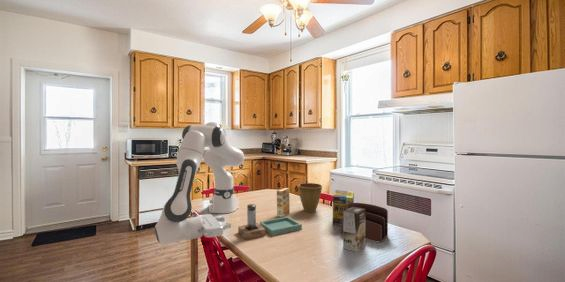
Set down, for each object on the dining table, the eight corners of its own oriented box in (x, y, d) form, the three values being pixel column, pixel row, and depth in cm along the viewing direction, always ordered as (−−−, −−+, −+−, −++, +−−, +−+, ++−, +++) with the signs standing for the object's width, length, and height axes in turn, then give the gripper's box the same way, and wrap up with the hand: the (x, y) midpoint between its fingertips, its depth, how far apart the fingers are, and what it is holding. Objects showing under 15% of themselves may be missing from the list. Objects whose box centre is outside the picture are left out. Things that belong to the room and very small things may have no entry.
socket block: (238, 232, 128) (238, 226, 128) (256, 228, 133) (256, 222, 133) (245, 239, 119) (245, 233, 119) (265, 235, 124) (265, 229, 124)
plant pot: (295, 212, 159) (295, 186, 159) (301, 206, 174) (301, 182, 173) (320, 215, 155) (320, 188, 154) (323, 208, 169) (323, 183, 169)
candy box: (282, 217, 151) (282, 191, 150) (276, 216, 153) (276, 190, 152) (289, 213, 159) (289, 188, 158) (283, 212, 161) (283, 187, 160)
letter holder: (348, 227, 136) (348, 200, 135) (388, 236, 124) (388, 206, 123) (340, 233, 128) (340, 204, 127) (381, 243, 116) (381, 212, 115)
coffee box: (357, 252, 107) (357, 213, 106) (342, 248, 111) (342, 210, 110) (365, 245, 114) (366, 208, 113) (351, 241, 118) (352, 206, 117)
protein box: (332, 225, 138) (332, 196, 137) (335, 216, 153) (335, 190, 152) (352, 227, 135) (353, 197, 134) (353, 218, 149) (354, 191, 149)
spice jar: (246, 233, 127) (246, 204, 127) (253, 231, 129) (253, 203, 129) (249, 236, 124) (249, 207, 123) (257, 234, 126) (257, 205, 125)
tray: (259, 226, 136) (259, 221, 136) (287, 221, 144) (287, 216, 144) (272, 235, 124) (272, 230, 124) (301, 229, 132) (301, 224, 132)
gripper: (201, 228, 104) (234, 222, 111) (191, 214, 122) (220, 209, 129) (201, 243, 104) (234, 236, 111) (191, 227, 122) (221, 222, 129)
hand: (227, 222), depth 120 cm, fingers open, 8 cm apart
